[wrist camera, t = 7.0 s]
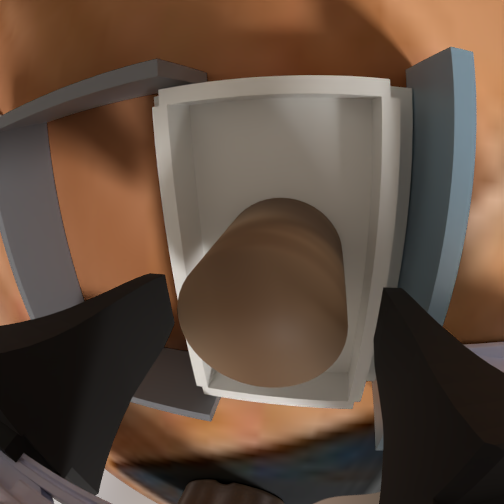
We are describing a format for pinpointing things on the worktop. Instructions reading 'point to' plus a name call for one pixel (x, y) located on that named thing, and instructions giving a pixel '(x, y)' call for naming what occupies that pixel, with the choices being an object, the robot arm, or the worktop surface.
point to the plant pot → (224, 494)
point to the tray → (328, 191)
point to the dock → (51, 226)
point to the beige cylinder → (269, 297)
